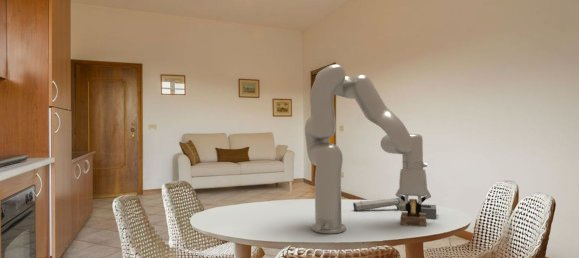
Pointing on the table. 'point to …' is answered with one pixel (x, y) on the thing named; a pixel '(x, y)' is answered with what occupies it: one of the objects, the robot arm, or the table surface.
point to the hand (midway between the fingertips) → (413, 213)
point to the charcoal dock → (429, 211)
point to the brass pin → (413, 207)
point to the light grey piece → (380, 204)
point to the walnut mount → (413, 219)
